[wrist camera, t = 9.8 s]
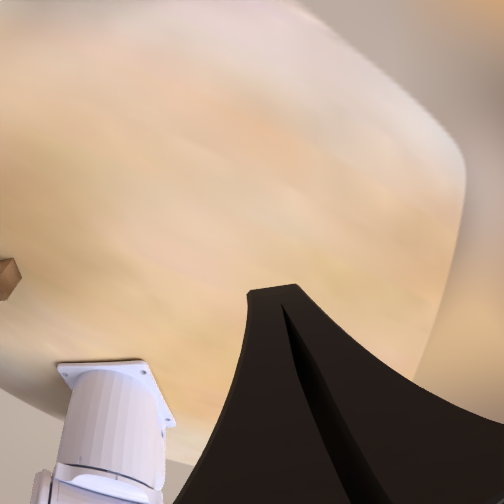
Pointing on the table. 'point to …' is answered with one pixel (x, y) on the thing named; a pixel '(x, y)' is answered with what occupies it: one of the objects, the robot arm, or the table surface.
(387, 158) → the table surface
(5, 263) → the walnut bay
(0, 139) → the table surface
